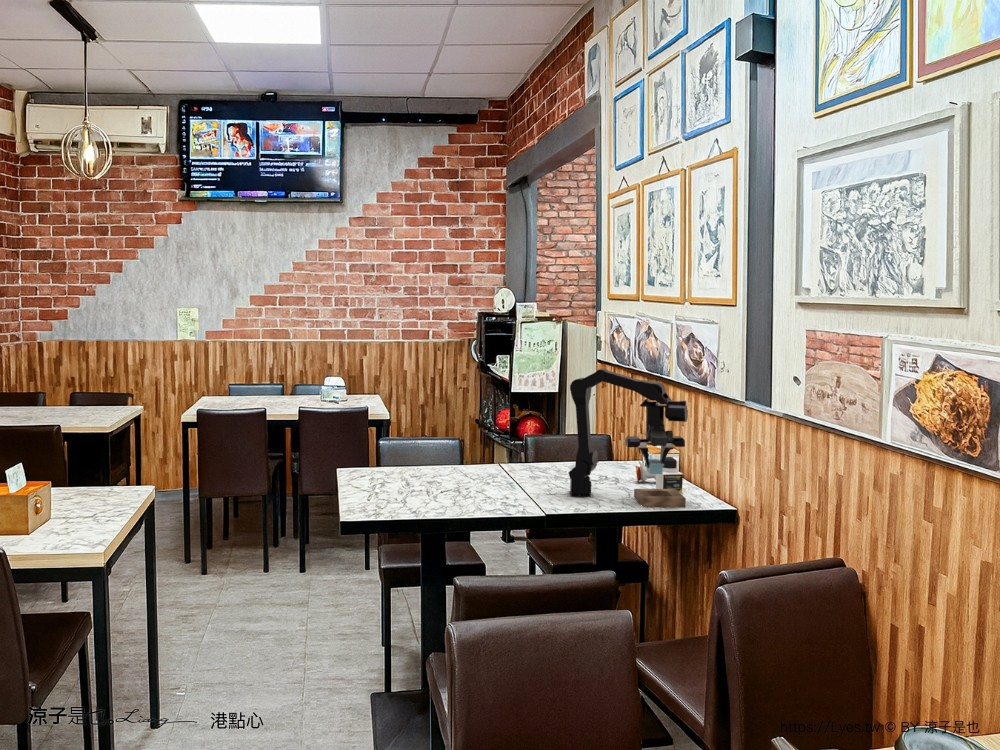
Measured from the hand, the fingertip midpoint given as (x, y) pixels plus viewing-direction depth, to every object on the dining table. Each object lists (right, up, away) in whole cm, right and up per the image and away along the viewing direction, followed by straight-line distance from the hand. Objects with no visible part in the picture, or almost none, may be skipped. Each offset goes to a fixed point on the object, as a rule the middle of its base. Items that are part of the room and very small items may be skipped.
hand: (654, 467), depth 300 cm
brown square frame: (+2, -12, +1) cm, 12 cm away
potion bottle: (+6, -9, +32) cm, 33 cm away
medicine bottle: (+8, -10, +18) cm, 22 cm away
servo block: (0, -2, 0) cm, 2 cm away
